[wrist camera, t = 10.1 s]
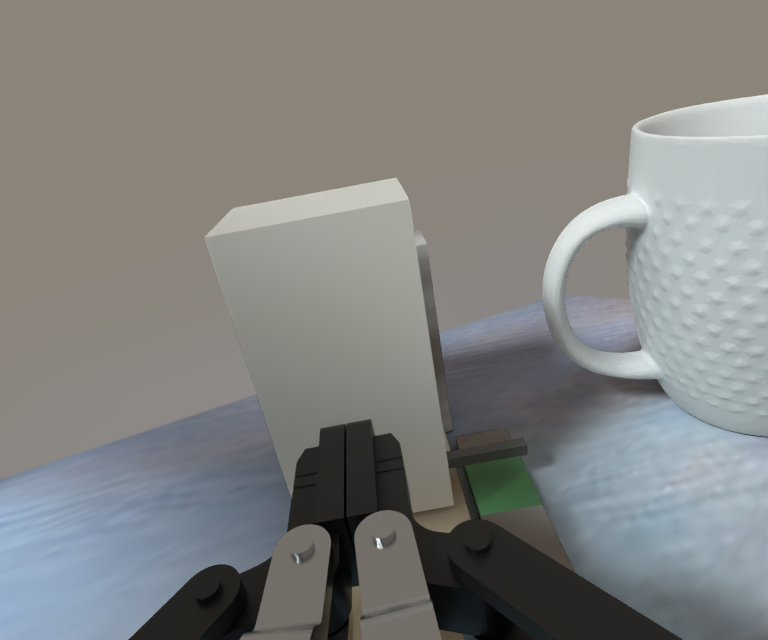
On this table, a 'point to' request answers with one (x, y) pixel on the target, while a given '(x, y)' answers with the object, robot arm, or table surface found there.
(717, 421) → the mug
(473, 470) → the gauge base
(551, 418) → the table surface
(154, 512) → the table surface
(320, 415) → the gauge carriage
